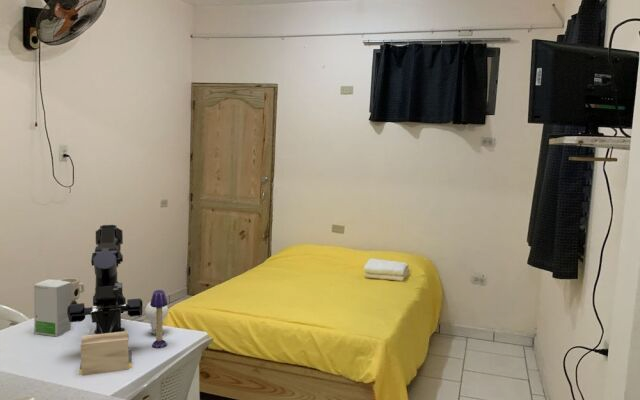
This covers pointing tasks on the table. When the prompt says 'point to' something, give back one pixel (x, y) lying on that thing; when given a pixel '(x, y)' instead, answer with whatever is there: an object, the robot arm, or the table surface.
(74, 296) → the character mug
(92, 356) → the pine block
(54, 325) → the skincare box
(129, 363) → the gray board
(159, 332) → the toy lamp
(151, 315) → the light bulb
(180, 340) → the table surface
